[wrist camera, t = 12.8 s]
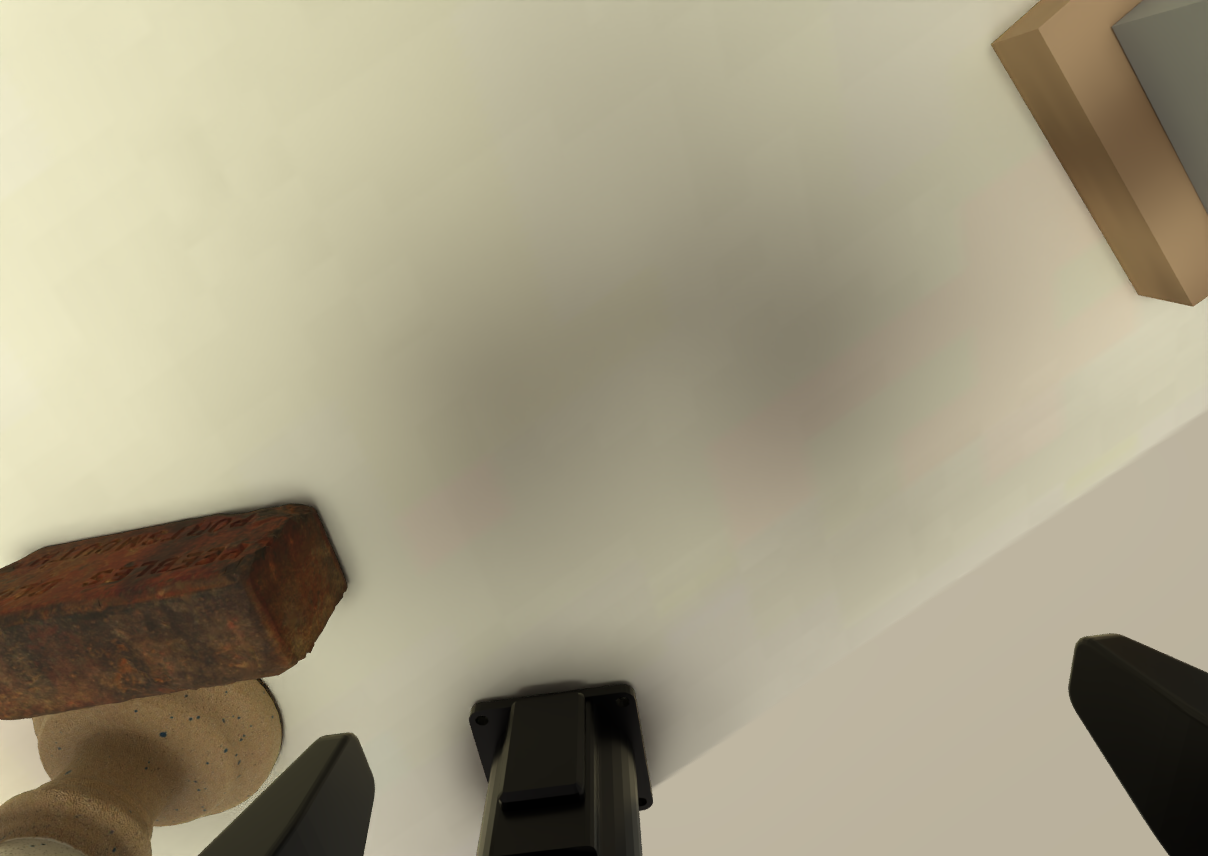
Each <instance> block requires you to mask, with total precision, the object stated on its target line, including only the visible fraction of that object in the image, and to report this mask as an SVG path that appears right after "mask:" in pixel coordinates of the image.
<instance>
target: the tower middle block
mask: <svg viewBox="0 0 1208 856" xmlns="http://www.w3.org/2000/svg"><path fill="white" fill-rule="evenodd" d="M1112 28H1113V30H1114V32H1115V34H1116V36H1117V38H1118V40H1119V42H1120V44H1121V46H1122V48H1123V50H1124V52H1125V54H1126V56H1127V58H1128V60H1129V62H1130V64H1131V65H1132V67H1133V69H1134V71H1135V73H1136V75H1137V77H1138V79H1139V81H1140V83H1141V85H1142V87H1143V89H1144V91H1145V93H1146V95H1147V97H1148V99H1149V101H1150V103H1151V104H1152V106H1153V108H1154V110H1155V112H1156V114H1157V116H1158V118H1159V120H1160V122H1161V124H1162V126H1163V128H1164V130H1165V132H1166V134H1167V136H1168V138H1169V140H1170V142H1171V143H1172V145H1173V147H1174V149H1175V151H1176V153H1177V155H1178V157H1179V159H1180V161H1181V163H1182V165H1183V167H1184V169H1185V171H1186V173H1187V175H1188V177H1189V179H1190V180H1191V182H1192V184H1193V186H1194V188H1195V190H1196V192H1197V194H1198V196H1199V198H1200V200H1201V202H1202V204H1203V206H1204V208H1205V210H1206V212H1207V214H1208V0H1143V1H1142V2H1140V3H1139V4H1138V5H1137V6H1136V7H1134V8H1133V9H1132V10H1131V11H1130V12H1129V13H1127V14H1126V15H1125V16H1124V17H1123V18H1122V19H1120V20H1119V21H1118V22H1117V23H1116V24H1115V25H1113V26H1112Z"/></svg>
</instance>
